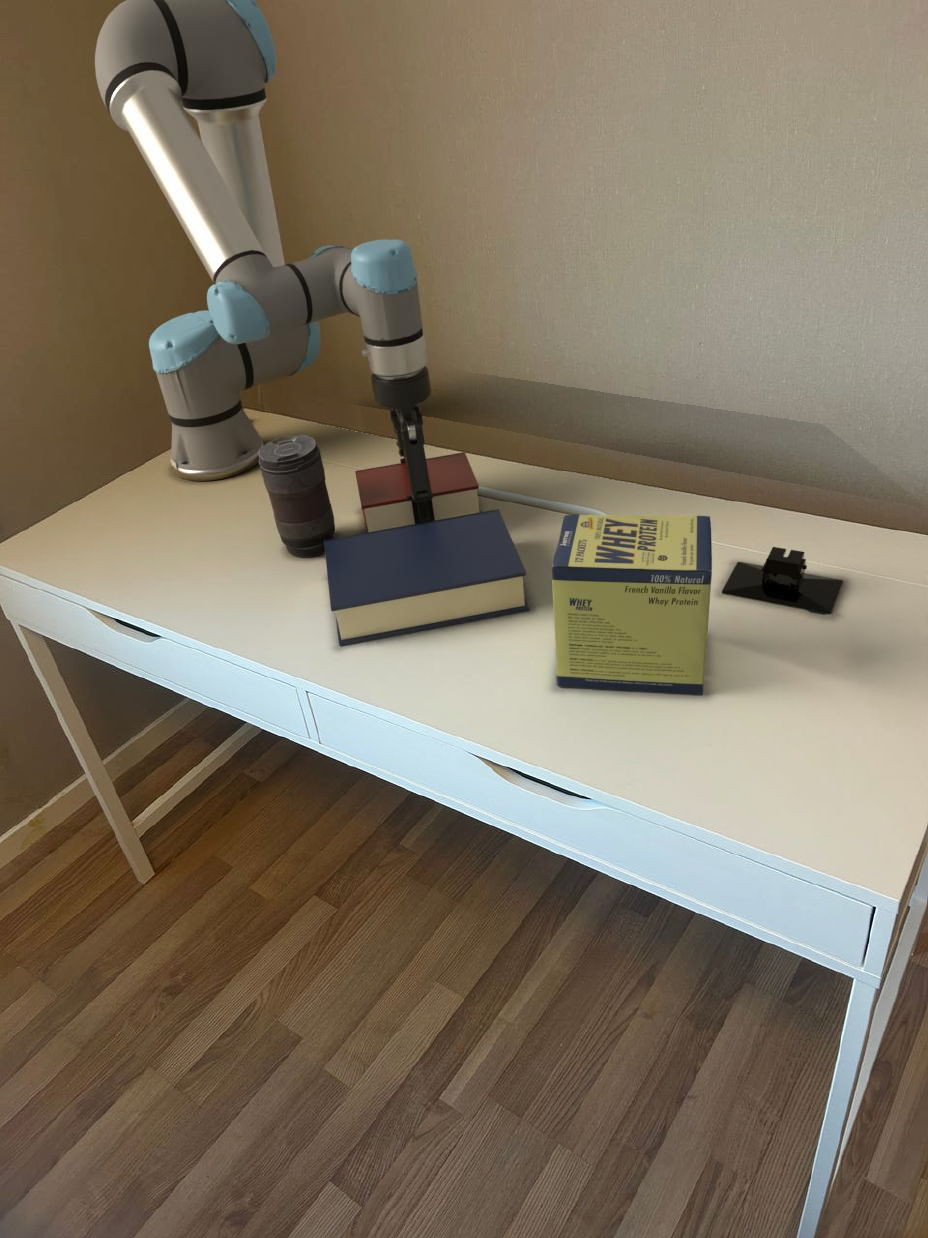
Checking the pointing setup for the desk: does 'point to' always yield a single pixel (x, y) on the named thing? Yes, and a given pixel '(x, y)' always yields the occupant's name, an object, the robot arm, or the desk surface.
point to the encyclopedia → (423, 576)
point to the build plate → (784, 583)
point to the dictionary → (391, 486)
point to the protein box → (632, 602)
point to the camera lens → (298, 494)
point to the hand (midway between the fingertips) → (421, 517)
